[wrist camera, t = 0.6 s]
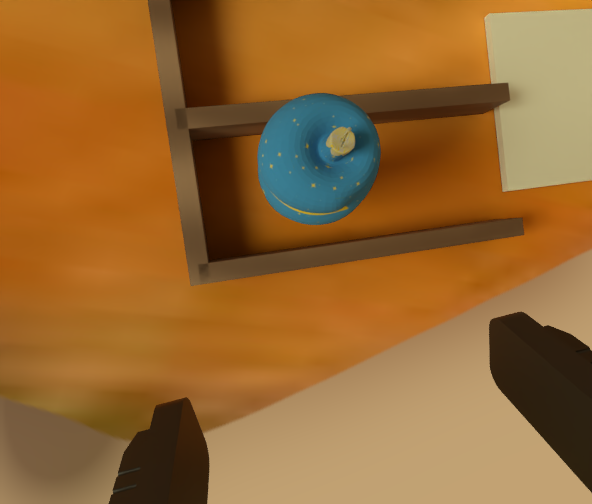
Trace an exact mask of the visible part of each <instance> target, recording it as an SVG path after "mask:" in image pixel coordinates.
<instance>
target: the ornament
mask: <svg viewBox="0 0 592 504" xmlns="http://www.w3.org/2000/svg"><path fill="white" fill-rule="evenodd" d="M380 155H381V149H380V141H379V137H378V133H377V131H376V128H375V126H374V124H373V122H372V121H371V119H370V118H369V116H368V115H367V114H366V113H365V112H364V111H363V110H362V109H361V108H360V107H359V106H358V105H356V104H355V103H353V102H352V101H350V100H348V99H346V98H343V97H340V96H337V95H333V94H327V93H316V94H309V95H304V96H301V97H298V98H296V99H293V100H292V101H290V102H288V103H287V104H285V105H284V106H283V107H281V108H280V109H279V110H278V111H277V112H276V113H275V114H274V115H273V116H272V117H271V118H270V120H269V121H268V123H267V124H266V126H265V128H264V130H263V133H262V136H261V139H260V143H259V148H258V176H259V181H260V185H261V188H262V190H263V192H264V194H265V196H266V199H267V200H268V202H269V204H270V205H271V206H272V207H273V208H274V209H275V210H276V211H277V212H279V213H280V214H281V215H283V216H285V217H287V218H289V219H291V220H294V221H296V222H299V223H303V224H310V225H321V224H328V223H332V222H335V221H337V220H340V219H342V218H343V217H345V216H347V215H348V214H349V213H351V212H352V211H353V210H354V209H355V208H356V207H357V206H358V205H359V204H360V203H361V202H362V200H363V199H364V198H365V197H366V195H367V194H368V192H369V191H370V189H371V187H372V185H373V183H374V181H375V178H376V176H377V173H378V169H379V164H380Z"/></svg>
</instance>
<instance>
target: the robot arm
mask: <svg viewBox="0 0 592 504" xmlns="http://www.w3.org/2000/svg"><path fill="white" fill-rule="evenodd" d="M489 344H490V370H491V374H492V376H493V379H494V381H495V383H496V385H497V386H498V388H499V389H500V390H501V392H502V393H503V394H504V395H505V396H506V397H507V398H508V399H509V400H510V401H511V403H512V404H513V405H514V406H515V407H516V408H517V409H518V411H519V412H520V413H521V414H522V415H523V416H524V417H525V418H526V419H527V421H528V422H529V423H530V424H531V425H532V426H533V427H534V428H535V430H536V431H537V432H538V433H539V434H540V435H541V436H542V437H543V438H544V440H545V441H546V442H547V443H548V444H549V445H550V446H551V448H552V449H553V450H554V451H555V452H556V453H557V454H558V455H559V456H560V458H561V459H562V460H563V461H564V462H565V463H566V464H567V465H568V467H569V468H570V469H571V470H572V471H573V472H574V473H575V474H576V475H577V477H578V478H579V479H580V480H581V481H582V482H583V483H584V484H585V486H586V487H587V488H588V489H589V490H590V491H591V492H592V351H591V350H590V348H589V347H588V346H587V345H585V344H584V343H582V342H581V341H580V340H578V339H577V338H576V337H574V336H573V335H571V334H569V333H566V332H564V331H561V330H559V329H556V328H554V327H551V326H544V327H543V326H541V325H540V324H539V323H537V322H536V321H535V320H534V319H532V318H531V317H530V316H528V315H527V314H525V313H523V312H517V313H513V314H509V315H505V316H501V317H498V318H494V319H492V320H491V321H490V324H489ZM208 482H209V454H208V448H207V444H206V441H205V438H204V436H203V433H202V430H201V428H200V425H199V423H198V420H197V418H196V415H195V412H194V410H193V407H192V405H191V402H190V400H189V399H188V398H182V399H178V400H174V401H171V402H167V403H163V404H159V405H157V406H156V407H155V410H154V414H153V418H152V422H151V426H150V429H148V430H145V431H141V432H138V433H137V434H136V436H135V437H134V438H133V440H132V441H131V443H130V444H129V446H128V447H127V449H126V450H125V452H124V454H123V457H122V461H121V464H120V468H119V471H118V477H117V478H116V481H115V484H114V488H113V495H111V498H110V501H109V504H207V498H208Z"/></svg>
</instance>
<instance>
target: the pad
mask: <svg viewBox="0 0 592 504" xmlns="http://www.w3.org/2000/svg"><path fill="white" fill-rule="evenodd" d="M484 20H485V29H486V39H487V48H488V58H489V67H490V77H491V84H496V83H508V84H509V94H510V101H508V102H506V103H504V104H502V105H500V106H498V107H495V108H494V114H495V124H496V133H497V143H498V152H499V162H500V171H501V181H502V190H503V192H506V191H514V190H521V189H529V188H537V187H544V186H552V185H559V184H567V183H575V182H582V181H590V180H592V9H577V10H556V11H534V12H512V13H490V14H488V15H487V16H486V17H485V18H484Z"/></svg>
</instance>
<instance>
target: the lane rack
mask: <svg viewBox="0 0 592 504" xmlns="http://www.w3.org/2000/svg"><path fill="white" fill-rule="evenodd" d="M148 5H149V12H150V18H151V25H152V32H153V38H154V45H155V52H156V58H157V65H158V71H159V78H160V85H161V91H162V98H163V105H164V111H165V118H166V125H167V131H168V138H169V145H170V151H171V158H172V164H173V171H174V178H175V184H176V191H177V198H178V204H179V211H180V218H181V224H182V231H183V238H184V244H185V251H186V257H187V264H188V271H189V277H190V284H191V286H194V285H200V284H207V283H213V282H220V281H226V280H233V279H239V278H246V277H252V276H259V275H266V274H272V273H279V272H285V271H292V270H298V269H305V268H311V267H318V266H324V265H331V264H337V263H344V262H350V261H357V260H364V259H370V258H377V257H383V256H390V255H396V254H403V253H409V252H416V251H422V250H429V249H435V248H442V247H448V246H455V245H462V244H468V243H475V242H481V241H488V240H494V239H501V238H507V237H514V236H520V235H524V230H523V220H522V218H510V219H496V220H488V221H481V222H474V223H467V224H460V225H453V226H446V227H439V228H432V229H425V230H418V231H411V232H404V233H397V234H391V235H384V236H377V237H370V238H363V239H356V240H349V241H342V242H335V243H328V244H321V245H314V246H307V247H300V248H293V249H286V250H279V251H272V252H265V253H258V254H251V255H244V256H237V257H230V258H223V259H216V260H209V253H208V246H207V239H206V232H205V226H204V219H203V212H202V205H201V198H200V192H199V185H198V178H197V171H196V165H195V158H194V151H193V144H192V141H194V140H205V139H216V138H226V137H237V136H248V135H259V134H262V133H263V130H264V128H265V126H266V124H267V123H268V121H269V120H270V118H271V117H272V116H273V115H274V114H275V113H276V112H277V111H278V110H279V109H280V108H281V107H283V106H284V105H285V104H287V103H288V102H290V101H292V100H281V101H268V102H256V103H243V104H231V105H218V106H205V107H193V108H187V104H186V97H185V90H184V83H183V76H182V70H181V63H180V56H179V49H178V42H177V36H176V29H175V22H174V15H173V9H172V2H171V0H148ZM340 97H343V98H346V99H348V100H350V101H352V102H353V103H355V104H356V105H358V106H359V107H360V108H361V109H362V110H363V111H364V112H365V113H366V114H367V115H368V116H369V118H370V119H371V121H372V122H373V124H377V123H388V122H399V121H409V120H420V119H431V118H442V117H453V116H463V115H474V114H483V113H485V112H487V111H489V110H491V109H493V108H495V107H498V106H500V105H502V104H504V103H506V102H508V101H510V94H509V84H508V83H496V84H483V85H471V86H458V87H446V88H433V89H420V90H408V91H395V92H382V93H370V94H357V95H344V96H340Z"/></svg>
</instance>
